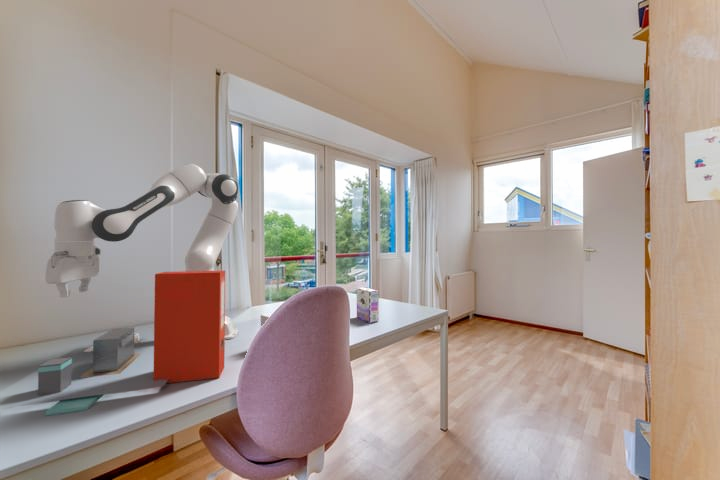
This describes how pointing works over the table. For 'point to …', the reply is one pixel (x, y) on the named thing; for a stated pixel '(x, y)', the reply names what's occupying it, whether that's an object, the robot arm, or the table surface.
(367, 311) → the candy box
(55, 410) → the pad
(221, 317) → the file binder
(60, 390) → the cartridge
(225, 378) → the table surface
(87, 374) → the board
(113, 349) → the panel
